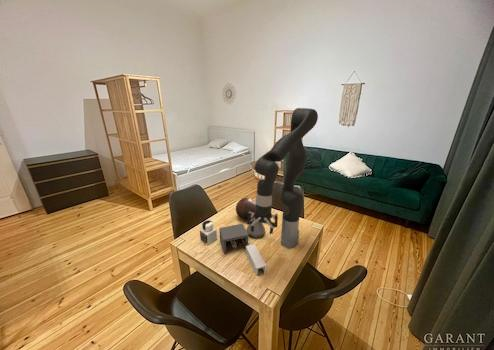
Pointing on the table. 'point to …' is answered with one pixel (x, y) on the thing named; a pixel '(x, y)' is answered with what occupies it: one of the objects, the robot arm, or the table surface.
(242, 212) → the wooden sphere
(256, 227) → the coffee pot
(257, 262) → the long white plank
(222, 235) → the shelf
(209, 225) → the medicine bottle
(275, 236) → the table surface
